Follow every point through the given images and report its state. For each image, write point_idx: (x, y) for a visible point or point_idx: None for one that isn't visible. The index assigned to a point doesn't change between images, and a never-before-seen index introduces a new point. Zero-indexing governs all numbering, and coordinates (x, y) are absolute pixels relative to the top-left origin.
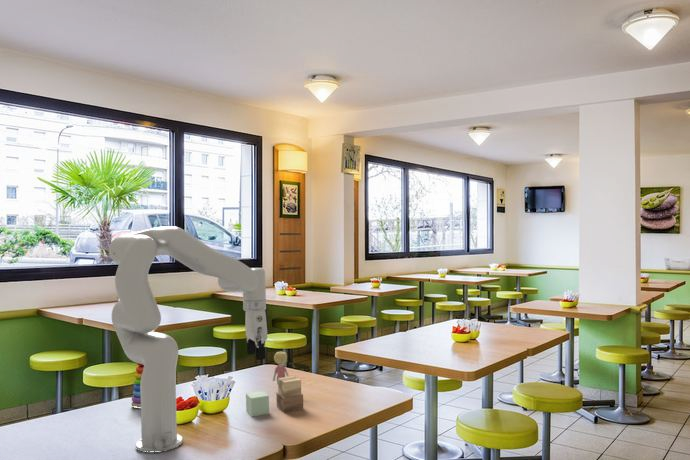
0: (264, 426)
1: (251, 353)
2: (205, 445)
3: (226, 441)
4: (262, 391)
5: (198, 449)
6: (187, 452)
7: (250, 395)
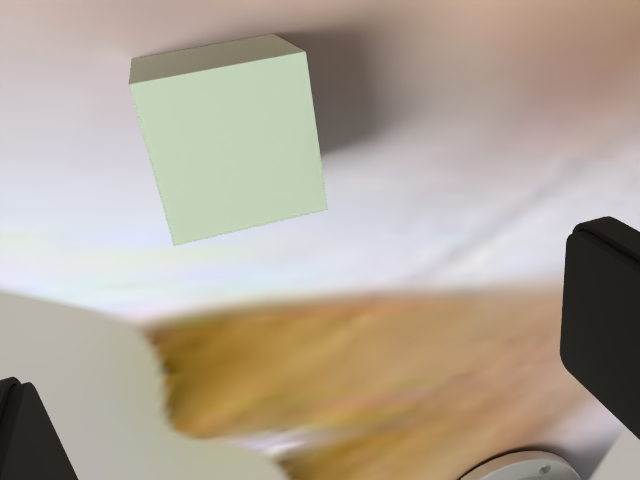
0: (503, 101)
1: (68, 463)
2: None
3: None
4: (140, 93)
5: None
6: None
7: (241, 210)
